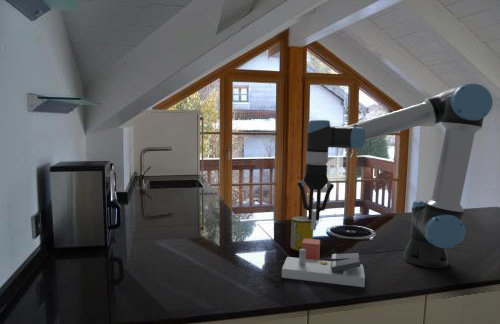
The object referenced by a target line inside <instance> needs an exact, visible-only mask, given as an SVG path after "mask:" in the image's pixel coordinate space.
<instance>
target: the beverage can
mask: <svg viewBox="0 0 500 324" xmlns="http://www.w3.org/2000/svg"><path fill="white" fill-rule="evenodd" d="M290 223H291V225H290V227H291V228H290V249H292V250H294V251H298V252H300V249H302V242H303V239H304V238H306V239H314V230H311V220H309V219H308V216H292V217H291V222H290Z"/></svg>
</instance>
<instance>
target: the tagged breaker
mask: <svg viewBox="0 0 500 324" xmlns="http://www.w3.org/2000/svg"><path fill="white" fill-rule="evenodd" d="M354 257H359V258H360V255H359V252H354V253H353V252H352V253H350V252H349V253H332V254H331V258H330V261H331V262H332V261H340V260H344V259H349V258H354Z"/></svg>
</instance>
